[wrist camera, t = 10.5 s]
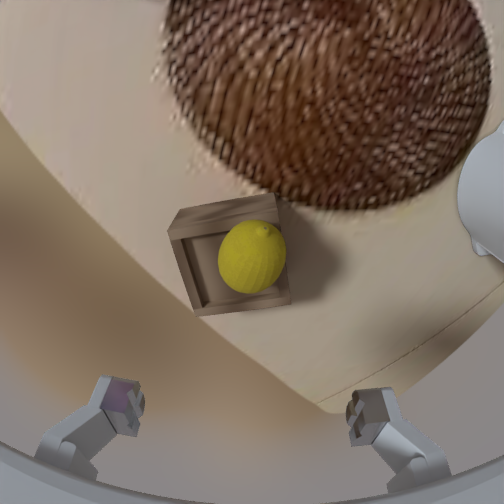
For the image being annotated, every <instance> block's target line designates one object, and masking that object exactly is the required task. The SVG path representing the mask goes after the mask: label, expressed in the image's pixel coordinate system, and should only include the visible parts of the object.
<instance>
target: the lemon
mask: <svg viewBox="0 0 504 504" xmlns="http://www.w3.org/2000/svg"><path fill="white" fill-rule="evenodd" d="M285 259H286V245H285V241H284V238H283V236H282V234H281V233H280V232H279V230H278V229H277V228H276V227H274V226H273V225H272V224H270V223H268V222H266V221H263V220H257V219H254V220H247V221H243V222H241V223H239V224H238V225H236V226H235V227H233V228H232V229H231V231H230V232H229V233H228V234H227V235H226V237H225V238H224V240H223V242H222V244H221V247H220V249H219V255H218V267H219V272H220V274H221V276H222V278H223V280H224V281H225V282H226V284H227V285H228V286H230V287H231V288H232V289H234V290H236V291H238V292H241V293H246V294H251V293H257V292H261V291H263V290H265V289H266V288H268V287H270V286H271V285H272V284H273V283H274V282H275V281H276V279H277V278H278V277H279V275H280V274H281V271H282V269H283V267H284V264H285Z"/></svg>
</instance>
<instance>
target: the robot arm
mask: <svg viewBox="0 0 504 504" xmlns="http://www.w3.org/2000/svg"><path fill="white" fill-rule="evenodd" d="M457 198H458V210H459V214H460V218H461V220H462V223H463V225H464V226H465V228H466V229H467V231H468V232H469V234H470V235H471V238H472V245H473V250H474V252H475V253H477V254H478V255H480V256H484V255H489V254H492V255H494V256H495V257H496V258H497V259H499V260H500V261H501V262H503V263H504V121H503V122H502V123H501V124H500V126H499V127H498V129H497V130H496V131H495V132H494V133H493V134H491V135H489V136H487V137H485V138H484V139H482V140H481V141H480V142H479V143H478V144H477V145H476V146H475V147H474V148H473V150H472V151H471V152H470V154H469V156H468V157H467V159H466V161H465V164H464V166H463V169H462V172H461V175H460V179H459V185H458V196H457ZM140 387H141V386H140V383H139V381H135V380H129V379H123V378H118V377H114V376H108V375H102V376H101V377H100V378H99V380H98V382H97V384H96V387H95V389H94V391H93V394H92V396H91V399H90V401H89V403H88V405H87V406H86V405H84V406H82V407H81V408H80V409H78V410H77V411H75V412H74V413H72V414H71V415H69V416H68V417H67V418H65V419H64V420H62V421H61V422H59V423H58V424H56V425H55V426H53V427H52V428H51V429H49V430H48V431H46V432H45V433H44V435H43V437H42V440H41V442H40V444H39V447H38V449H37V451H36V454H35V456H34V457H32V456H29V455H27V454H25V453H23V452H21V451H18V450H17V449H15V448H13V447H11V446H9V445H6V444H5V443H3V442H1V441H0V504H213V503H203V502H195V501H187V500H180V499H173V498H167V497H161V496H156V495H151V494H146V493H142V492H137V491H133V490H128V489H124V488H120V487H116V486H113V485H109V484H106V483H102V482H99V481H96V477H97V474H98V471H97V469H96V468H95V467H94V466H93V465H92V464H91V463H90V459H92V458H93V457H94V456H95V455H96V454H97V453H98V452H99V451H100V450H101V449H102V448H103V447H104V446H106V445H107V444H108V443H109V442H110V441H111V440H112V439H113V438H114V437H115V436H116V435H117V434H122V435H128V436H133V437H137V433H138V429H139V426H140V422H139V420H138V418H139V417H141V416H142V415H143V412H144V407H145V398H144V394H143V393H142V392H141V391H140ZM346 420H347V424H348V425H349V426H350V427H351V430H350V432H349V436H350V441H351V446H362V445H371V446H372V447H373V448H374V449H375V451H376V452H377V453H378V454H379V455H380V456H381V457H382V458H383V460H384V461H385V462H386V463H387V464H388V465H389V466H390V467H391V469H392V470H393V471H394V472H395V473H396V476H394V477H393V478H392V479H391V480H390V481H389V482H388V483H387V489H388V494H383V495H378V496H372V497H367V498H361V499H355V500H347V501H340V502H331V503H321V504H504V455H502V456H500V457H498V458H496V459H494V460H491V461H489V462H487V463H484V464H482V465H480V466H477V467H474V468H472V469H469V470H467V471H464V472H461V473H458V474H456V475H453V476H452V475H451V472H450V469H449V465H448V462H447V459H446V456H445V453H444V451H443V449H441V448H440V447H439V446H438V445H436V444H435V443H434V442H433V441H432V440H430V439H429V438H428V437H427V436H426V435H425V434H423V433H422V432H421V431H420V430H419V429H417V428H416V427H415V426H414V425H413V424H412V423H410V422H409V421H408V420H407V419H403V418H402V415H401V412H400V409H399V406H398V403H397V400H396V397H395V394H394V391H393V389H392V388H391V387H384V388H371V389H361V390H355V391H353V393H352V400H351V401H349V402H348V405H347V408H346ZM116 433H117V434H116Z"/></svg>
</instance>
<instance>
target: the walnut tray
mask: <svg viewBox="0 0 504 504" xmlns="http://www.w3.org/2000/svg"><path fill="white" fill-rule="evenodd" d="M254 219H257V220H263V221H266V222H268V223H270V224H272V225H273V226H274V227H276V228H277V229H278V230H279V232H280V233H281V229H280V223H279V216H278V210H277V205H276V200H275V196H274V193H267V194H261V195H255V196H249V197H243V198H237V199H232V200H226V201H221V202H215V203H210V204H204V205H199V206H194V207H189V208H184V209H180V210H179V212H178V213H177V215H176V217H175V218H174V220H173V222H172V223H171V225H170V227H169V229H168V230H167V232H168V235H169V238H170V241H171V245H172V248H173V251H174V254H175V257H176V260H177V263H178V266H179V269H180V272H181V275H182V278H183V281H184V284H185V287H186V290H187V293H188V296H189V299H190V302H191V304H192V307H193V310H194V313H195V316H196V317H199V316H208V315H216V314H224V313H232V312H240V311H247V310H255V309H262V308H269V307H276V306H282V305H289V304H291V298H290V291H289V284H288V277H287V270H286V263H285V264H284V267H283V269H282V271H281V274H280V275H279V277H278V278H277V279H276V281H275V282H274V283H273V284H272V285H271V286H270V287H268V288H266V289H265V290H263V291H261V292H257V293H251V294H246V293H241V292H238V291H236V290H234V289H232V288H231V287H230V286H228V285H227V284H226V282H225V281H224V280H223V278H222V276H221V274H220V272H219V267H218V255H219V249H220V247H221V244H222V242H223V240H224V238H225V237H226V235H227V234H228V233H229V232H230V231H231V229H232V228H233V227H235V226H236V225H238V224H239V223H241V222H243V221H247V220H254Z"/></svg>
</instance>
